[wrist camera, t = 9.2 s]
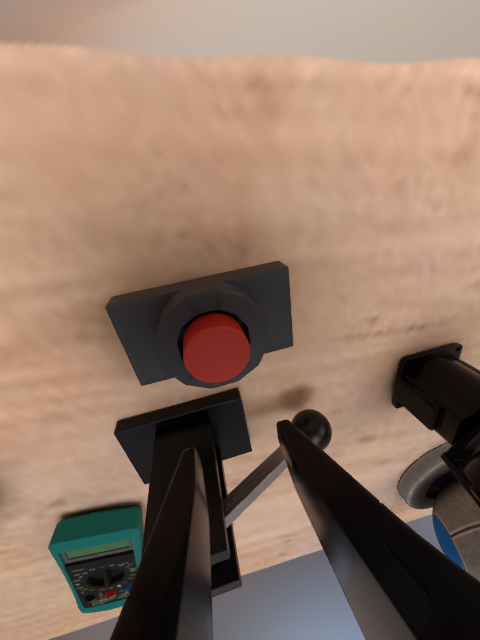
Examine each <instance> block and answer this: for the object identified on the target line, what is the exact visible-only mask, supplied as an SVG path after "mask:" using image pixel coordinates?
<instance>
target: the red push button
mask: <svg viewBox="0 0 480 640" xmlns="http://www.w3.org/2000/svg"><path fill="white" fill-rule="evenodd" d="M249 357H250V345H249V343H248V340H247V338H246V336H245V334H244V332H243V330H242V328H241V326H240V324H239V323H238V322H237V321H236V320H235V319H234V318H232V317H230V316H228V315H225V314H221V313H210V314H206V315H203V316H201V317H199V318H197V319H195V320H194V321H193V322H192V323H191V324H190V325H189V326H188V327H187V329H186V331H185V333H184V337H183V361H184V365H185V367H186V369H187V371H188V372H189V373H190V374H191V375H192V376H193V377H195V378H196V379H198V380H200V381H203V382H208V383H219V382H224V381H227V380H230V379H232V378H234V377H235V376H237V375H238V374H239V373H240V372H242V370H243V369H244V368H245V367H246V365H247V363H248V361H249Z"/></svg>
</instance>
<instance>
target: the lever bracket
mask: <svg viewBox="0 0 480 640" xmlns="http://www.w3.org/2000/svg"><path fill="white" fill-rule="evenodd" d="M114 435H115V436H116V438H117V440H118V441H119V443H120V445H121V446H122V448H123V450H124V451H125V453H126V454H127V456H128V458H129V459H130V461H131V463H132V464H133V466H134V468H135V469H136V471H137V473H138V474H139V476H140V478H141V479H142V481H143V482H144V484H148V483H150V484H149V493H148V502H147V511H146V520H145V529H144V538H143V547H142V556H143V553H144V551H145V548H146V546H147V543H148V540H149V538H150V535H151V533H152V530H153V527H154V525H155V522H156V519H157V517H158V514H159V512H160V509H161V506H162V504H163V501H164V499H165V496H166V493H167V491H168V488H169V486H170V483H171V480H172V478H173V475H174V473H175V470H176V467H177V465H178V462H179V459H180V457H181V454H182V452H183V451H184V450H186V449H189V448H192V447H195V448H196V450H197V452H198V455H199V458H200V460H201V464H202V469H203V477H204V484H205V492H206V499H207V507H208V515H209V531H210V562H211V565H213V564H214V565H213V566H212V567H211V593H212V597H215V596H217V595H220V594H223V593H225V592H228V591H231V590H233V589H235V588H238V587H241V586H242V582H241V575H240V569H239V563H238V556H237V550H236V544H235V538H234V531H233V525H232V523H231V524H230V525H229V526H228V527H227V528H226V521H225V514H224V507H223V499H224V498H225V497H226V496H227V495H228V494H227V487H226V481H225V475H224V468H223V462H222V460H225V459H228V458H232V457H235V456H238V455H241V454H244V453H248V452H251V451H252V448H251V443H250V438H249V433H248V429H247V424H246V419H245V414H244V410H243V405H242V400H241V396H240V393H239V390H238V388H237V389H233V390H229V391H226V392H222V393H219V394H215V395H211V396H208V397H204V398H201V399H197V400H193V401H190V402H186V403H183V404H179V405H175V406H172V407H168V408H165V409H161V410H157V411H154V412H150V413H146V414H143V415H139V416H136V417H132V418H128V419H125V420H121V421H118V422H117V425H116V428H115V431H114ZM142 556H141V559H142Z"/></svg>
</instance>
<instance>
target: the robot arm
mask: <svg viewBox="0 0 480 640" xmlns="http://www.w3.org/2000/svg"><path fill="white" fill-rule="evenodd" d="M462 347H463V346H462V345H460V344H458V343H453V344H450V345H446V346H443V347H439V348H436V349H432V350H429V351H425V352H422V353H418V354H415V355H411V356H408V357H405V358H403V359H402V360H401V362H400V367H399V372H398V377H397V382H396V387H395V392H394V397H393V402H392V405H393V406H394V407H395V408H400V407H405V408H406V409H407V410H408V411H409V412H411V413H412V414H413V415H414V416H415V417H416V418H417V419H418V420H419V421H420V422H421V423H422V424H424V425H425V426H426V427H427V428H428V429H430V430H435V431H436V432H437V433H438V434H439V435H441V436H442V437H443V438H444V439H445V440H446V441H447V442H448V443H449V444H450V445H452V446H451V447H450V448H449V449H448V450H447V451H446V452H443V453H442V454H441V455H440V457H441V458H442V460H443V461H444V462H445V464H446V465H447V467H448V468H449V469H450V471H451V472H452V473H453V475H454V476H455V477H456V478H457V480H458V481H459V482H460V484H461V485H462V486H463V487H464V489H465V490H466V491H467V492H468V494H469V495H470V496H471V498H472V499H473V500H474V501H475V503H476V504H477V505H478V507H479V508H480V370H478V369H476V368H474V367H473V366H471V365H469V364H467V363H465V362H464V361H462V360H460V359H459V357H460V354H461V351H462ZM277 433H278V440H279V443H280V446H281V449H282V452H283V455H284V458H285V461H286V463H287V466H288V469H289V472H290V475H291V478H292V481H293V483H294V486H295V489H296V491H297V493H298V496H299V498H300V500H301V502H302V504H303V506H304V509H305V511H306V513H307V515H308V517H309V519H310V521H311V524H312V526H313V528H314V530H315V532H316V534H317V536H318V539H319V541H320V543H321V545H322V547H323V549H324V552H325V553H326V556H327V557H328V560H329V562H330V564H331V566H332V568H333V571H334V573H335V575H336V577H337V579H338V581H339V584H340V586H341V588H342V590H343V592H344V594H345V597H346V598H347V601H348V603H349V605H350V607H351V609H352V611H353V614H354V616H355V618H356V620H357V622H358V624H359V626H360V629H361V631H362V633H363V635H364V637H365V639H366V640H480V581H478V580H477V579H476V578H474V577H473V576H472V575H470V574H469V573H468V572H467V571H465V570H464V569H463V568H461V567H460V566H459V565H457V564H456V563H455V562H453V561H452V560H451V559H449V558H448V557H447V556H445V555H444V554H443V553H441V552H440V551H439V550H438V549H436V548H435V547H434V546H433V545H431V544H430V543H429V542H427V541H426V540H425V539H423V538H422V537H421V536H420V535H419V534H417V533H416V532H415V531H413V530H412V529H411V528H410V527H409V526H408V525H407V524H405V523H404V522H403V521H402V520H401V519H400V518H398V517H397V516H396V515H395V514H394V513H393V512H392V511H390V510H389V509H388V508H387V507H386V506H385V505H384V504H382V503H380V502H379V500H378V499H377V498H376V497H374V496H373V495H372V494H371V493H370V492H369V491H368V490H367V489H365V488H364V487H363V486H362V485H361V484H360V483H359V482H358V481H356V480H355V479H354V478H353V477H352V476H351V475H350V474H349V473H347V472H346V471H345V470H344V469H343V468H342V467H341V466H340V465H338V464H337V463H336V462H335V461H334V460H333V459H332V458H331V457H329V456H328V455H327V454H326V453H325V452H324V451H323V450H322V449H320V448H319V447H318V446H317V445H316V444H315V443H314V442H313V441H311V440H310V439H309V438H308V437H307V436H306V435H305V434H304V433H302V432H301V431H300V430H299V429H298V428H297V427H296V426H295V425H293V424H292V423H291V422H290V421H289V420H282V421H279V422H277ZM129 593H130V594H129V595H127V597H126V600H125V603H124V605H123V608H122V610H121V613H120V616H119V618H118V621H117V623H116V626H115V628H114V631H113V633H112V636H111V638H110V640H213V625H212V624H213V623H212V593H211V562H210V531H209V515H208V507H207V499H206V492H205V484H204V477H203V469H202V464H201V460H200V458H199V455H198V452H197V450H196V448H195V447H192V448H189V449H186V450H184V451H183V452H182V454H181V457H180V459H179V462H178V465H177V467H176V470H175V473H174V475H173V478H172V480H171V483H170V486H169V488H168V491H167V493H166V496H165V499H164V501H163V504H162V506H161V509H160V512H159V514H158V517H157V519H156V522H155V525H154V527H153V530H152V533H151V535H150V538H149V540H148V543H147V546H146V548H145V551H144V553H143V556H142V559H141V561H140V564H139V566H138V569H137V572H136V574H135V577H134V579H133V582H132V585H131V587H130V590H129Z"/></svg>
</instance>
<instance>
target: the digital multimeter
mask: <svg viewBox="0 0 480 640" xmlns="http://www.w3.org/2000/svg"><path fill="white" fill-rule="evenodd" d="M143 538H144V536H143V524H142V510H141V509H140V508H139V507H138V506H131V507H122V508H115V509H108V510H103V511H97V512H92V513H87V514H82V515H77V516H73V517H69V518H65V519H64V520H62V521H60V522H59V523H58V524H57V526H56V528H55V531H54V534H53V536H52V539H51V541H50V544H49V547H48V549H49V550H50V552H51V554H52V555H53V557H54V559H55V560H56V562H57V564H58V565H59V567H60V569H61V570H62V572H63V574H64V576H65V578H66V580H67V582H68V584H69V586H70V588H71V590H72V592H73V594H74V596H75V599H76V602H77V605H78V608H79V609H80V611H81V612H82V613H92V612H99V611H106V610H110V609H114V608H118V607H121V606H123V605H124V603H125V600H126V597H127V595H129V594H130V593H129V590H130V587H131V585H132V582H133V579H134V577H135V574H136V572H137V569H138V566H139V564H140V561H141V556H142V547H143Z"/></svg>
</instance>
